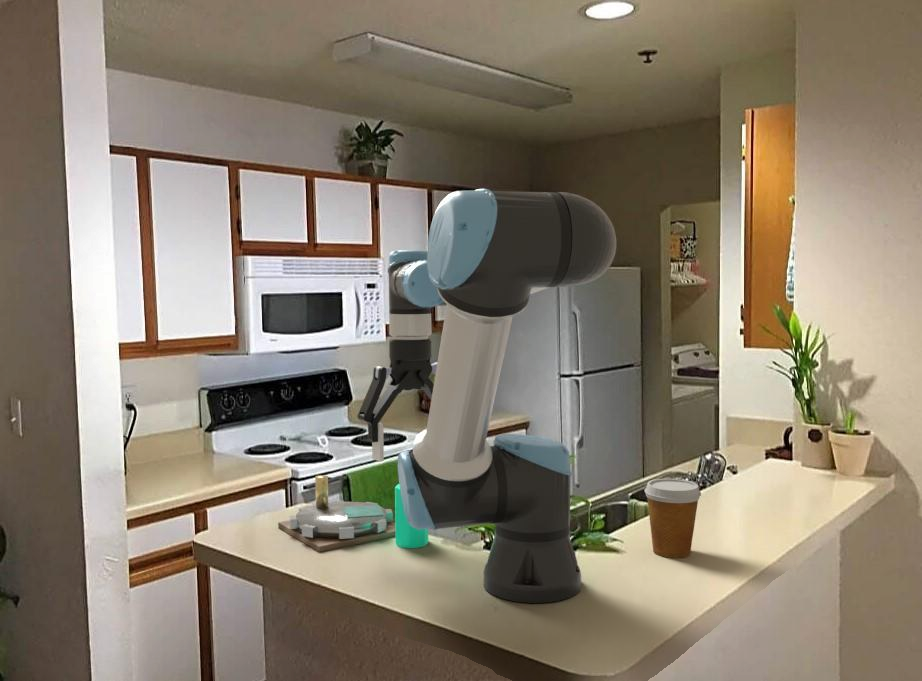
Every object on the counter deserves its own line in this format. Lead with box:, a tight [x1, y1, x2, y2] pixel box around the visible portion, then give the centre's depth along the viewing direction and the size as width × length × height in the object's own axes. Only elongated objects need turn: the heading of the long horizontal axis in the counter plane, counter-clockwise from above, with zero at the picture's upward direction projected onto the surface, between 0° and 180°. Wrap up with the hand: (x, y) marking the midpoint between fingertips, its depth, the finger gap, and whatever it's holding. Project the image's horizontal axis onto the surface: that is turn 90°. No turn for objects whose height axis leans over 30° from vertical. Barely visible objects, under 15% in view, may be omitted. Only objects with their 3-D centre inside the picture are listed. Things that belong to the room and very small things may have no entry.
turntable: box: [289, 474, 394, 539], centre depth 158 cm, size 19×19×8 cm
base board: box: [277, 519, 396, 553], centre depth 158 cm, size 18×18×1 cm
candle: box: [394, 483, 429, 549], centre depth 151 cm, size 6×6×12 cm
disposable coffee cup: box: [644, 478, 702, 559], centre depth 145 cm, size 10×10×12 cm
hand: (411, 455), depth 150 cm, fingers open, 13 cm apart
